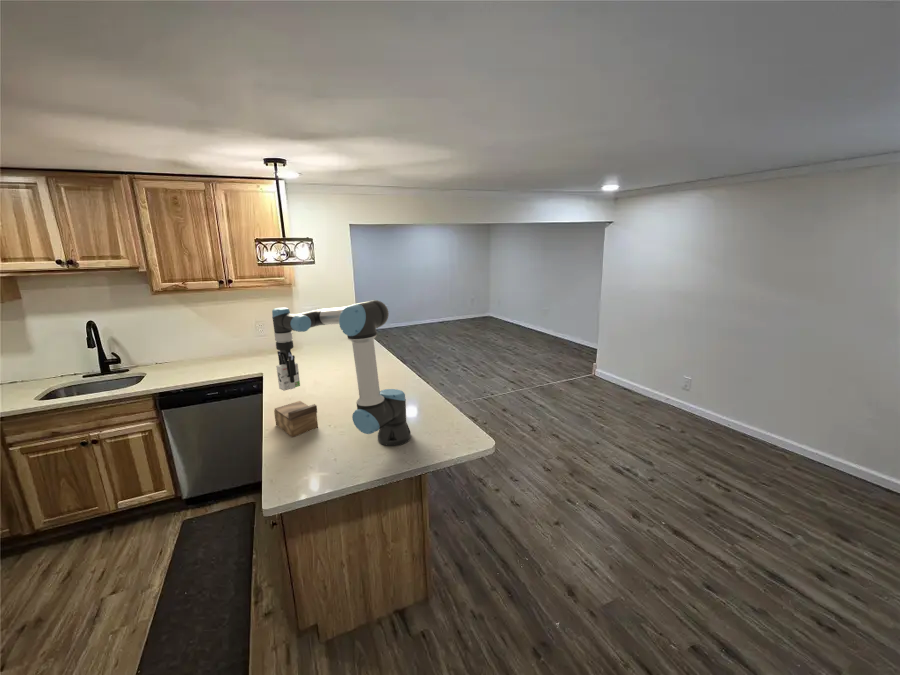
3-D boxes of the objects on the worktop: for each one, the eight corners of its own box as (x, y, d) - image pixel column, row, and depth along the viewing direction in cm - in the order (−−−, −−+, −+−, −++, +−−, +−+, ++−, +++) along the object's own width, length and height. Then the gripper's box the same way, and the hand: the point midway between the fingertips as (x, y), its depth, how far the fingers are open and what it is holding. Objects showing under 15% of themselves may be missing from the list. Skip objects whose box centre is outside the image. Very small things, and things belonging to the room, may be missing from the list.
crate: (318, 427, 195) (316, 412, 193) (292, 437, 186) (290, 421, 184) (301, 416, 207) (299, 402, 205) (275, 425, 198) (274, 410, 196)
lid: (317, 412, 192) (316, 405, 191) (290, 421, 183) (290, 414, 182) (300, 402, 205) (299, 395, 204) (274, 410, 196) (273, 402, 195)
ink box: (295, 383, 198) (292, 361, 195) (300, 386, 195) (298, 363, 192) (278, 388, 192) (275, 365, 189) (283, 391, 189) (280, 367, 186)
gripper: (300, 342, 184) (305, 389, 190) (283, 335, 197) (288, 380, 202) (284, 345, 179) (290, 394, 185) (268, 338, 191) (274, 384, 197)
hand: (289, 386), depth 194 cm, fingers closed on ink box, 5 cm apart
